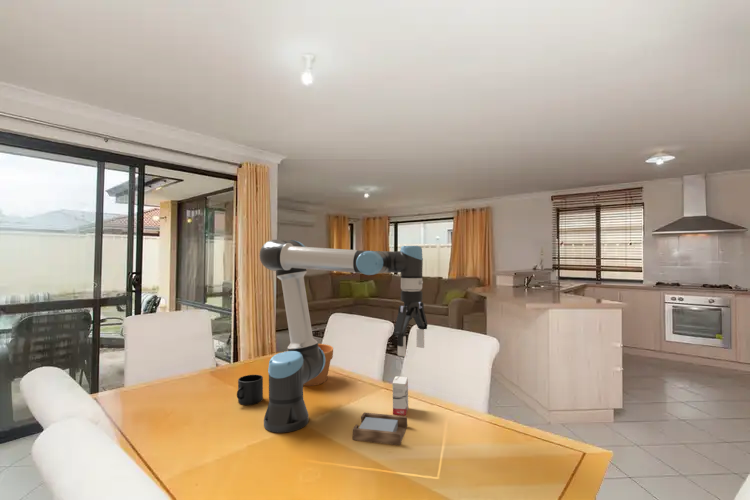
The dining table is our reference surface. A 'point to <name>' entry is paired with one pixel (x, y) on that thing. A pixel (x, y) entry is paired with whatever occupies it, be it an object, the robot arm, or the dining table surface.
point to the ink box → (400, 395)
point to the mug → (250, 389)
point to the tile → (379, 424)
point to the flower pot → (323, 375)
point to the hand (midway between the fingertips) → (411, 351)
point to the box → (378, 435)
